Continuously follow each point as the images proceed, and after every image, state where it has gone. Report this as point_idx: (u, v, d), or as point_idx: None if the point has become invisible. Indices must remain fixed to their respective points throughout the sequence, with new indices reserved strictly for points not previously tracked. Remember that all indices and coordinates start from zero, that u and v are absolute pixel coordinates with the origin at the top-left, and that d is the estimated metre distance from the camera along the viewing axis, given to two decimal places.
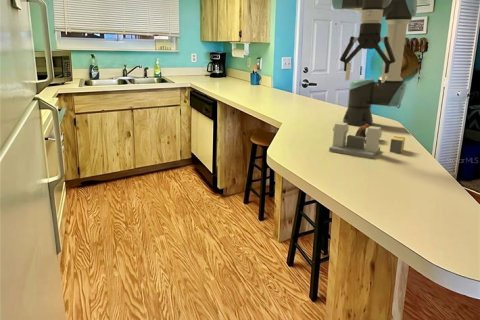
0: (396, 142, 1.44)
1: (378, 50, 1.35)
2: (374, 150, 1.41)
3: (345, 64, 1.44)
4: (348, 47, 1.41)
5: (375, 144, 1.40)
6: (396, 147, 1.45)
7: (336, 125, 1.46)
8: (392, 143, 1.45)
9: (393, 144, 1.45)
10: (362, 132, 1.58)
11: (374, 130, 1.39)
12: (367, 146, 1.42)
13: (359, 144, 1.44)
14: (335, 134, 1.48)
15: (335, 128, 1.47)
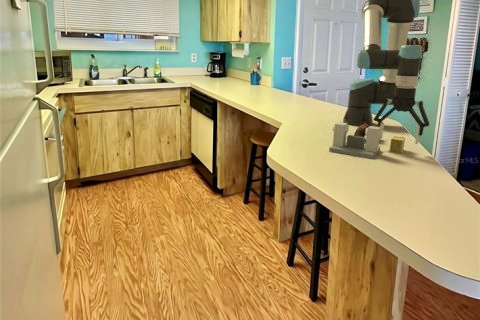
0: (396, 142, 1.44)
1: (413, 113, 1.40)
2: (374, 150, 1.41)
3: (379, 124, 1.48)
4: (382, 108, 1.45)
5: (375, 144, 1.40)
6: (396, 147, 1.45)
7: (336, 125, 1.46)
8: (392, 143, 1.45)
9: (393, 144, 1.45)
10: (361, 132, 1.58)
11: (374, 130, 1.39)
12: (367, 146, 1.42)
13: (359, 144, 1.44)
14: (335, 134, 1.48)
15: (335, 128, 1.47)
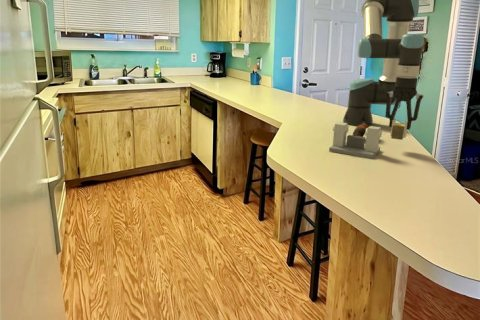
0: (398, 128, 1.43)
1: (408, 105, 1.40)
2: (374, 150, 1.41)
3: (390, 120, 1.46)
4: (388, 103, 1.44)
5: (375, 144, 1.40)
6: (398, 133, 1.43)
7: (336, 125, 1.46)
8: (394, 129, 1.44)
9: (395, 130, 1.44)
10: (359, 131, 1.59)
11: (374, 130, 1.39)
12: (367, 146, 1.42)
13: (359, 144, 1.44)
14: (335, 134, 1.48)
15: (335, 128, 1.47)
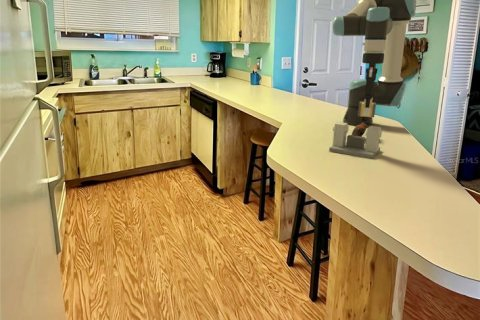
0: None
1: None
2: (374, 150, 1.41)
3: None
4: None
5: (375, 144, 1.40)
6: None
7: (336, 125, 1.46)
8: None
9: None
10: (358, 131, 1.59)
11: (374, 130, 1.39)
12: (367, 146, 1.42)
13: (359, 144, 1.44)
14: (335, 134, 1.48)
15: (335, 128, 1.47)
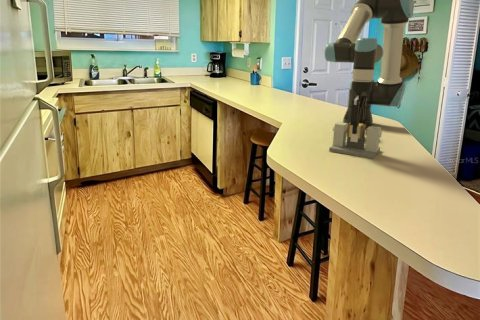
0: None
1: None
2: (374, 150, 1.41)
3: None
4: None
5: (375, 144, 1.40)
6: None
7: (336, 125, 1.46)
8: None
9: None
10: None
11: (374, 130, 1.39)
12: (367, 146, 1.42)
13: (359, 144, 1.44)
14: (335, 134, 1.48)
15: (335, 128, 1.47)
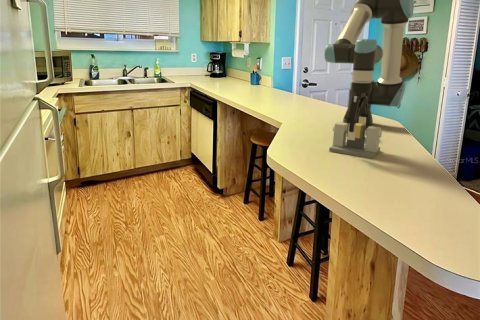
0: None
1: None
2: (374, 150, 1.41)
3: None
4: None
5: (375, 144, 1.40)
6: None
7: (336, 125, 1.46)
8: None
9: None
10: None
11: (374, 130, 1.39)
12: (367, 146, 1.42)
13: (359, 144, 1.44)
14: (335, 134, 1.48)
15: (335, 128, 1.47)
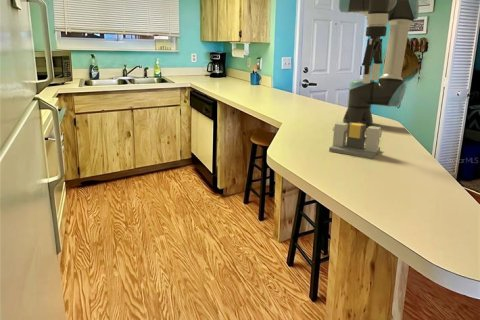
0: None
1: None
2: (374, 150, 1.41)
3: None
4: None
5: (375, 144, 1.40)
6: None
7: (336, 125, 1.46)
8: None
9: None
10: None
11: (374, 130, 1.39)
12: (367, 146, 1.42)
13: (359, 144, 1.44)
14: (335, 134, 1.48)
15: (335, 128, 1.47)
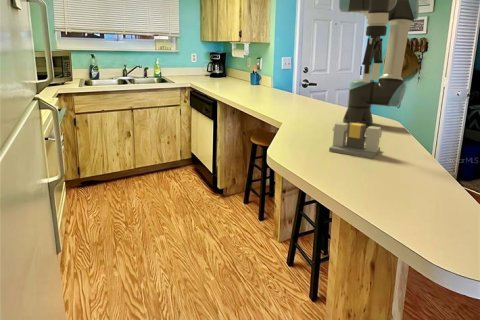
0: None
1: None
2: (374, 150, 1.41)
3: None
4: None
5: (375, 144, 1.40)
6: None
7: (336, 125, 1.46)
8: None
9: None
10: None
11: (374, 130, 1.39)
12: (367, 146, 1.42)
13: (359, 144, 1.44)
14: (335, 134, 1.48)
15: (335, 128, 1.47)
